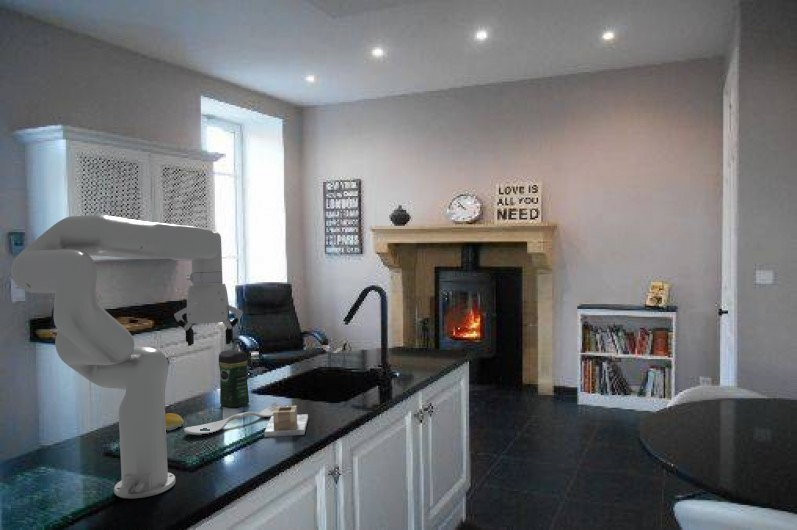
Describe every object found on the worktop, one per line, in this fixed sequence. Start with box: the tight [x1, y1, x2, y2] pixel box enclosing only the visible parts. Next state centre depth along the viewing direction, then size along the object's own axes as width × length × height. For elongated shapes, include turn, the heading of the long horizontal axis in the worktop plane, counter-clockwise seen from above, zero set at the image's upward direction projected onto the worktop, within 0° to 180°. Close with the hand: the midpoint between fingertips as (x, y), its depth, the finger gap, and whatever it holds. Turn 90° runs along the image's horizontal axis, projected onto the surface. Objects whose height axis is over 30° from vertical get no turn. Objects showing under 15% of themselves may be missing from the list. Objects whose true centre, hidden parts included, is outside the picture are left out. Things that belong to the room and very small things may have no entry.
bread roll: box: [165, 412, 185, 428], centre depth 176 cm, size 8×9×4 cm
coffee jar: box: [218, 349, 250, 408], centre depth 198 cm, size 10×8×19 cm
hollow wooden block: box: [273, 405, 298, 430], centre depth 168 cm, size 6×6×5 cm
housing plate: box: [264, 404, 309, 438], centre depth 172 cm, size 15×11×6 cm
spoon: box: [183, 402, 280, 436], centre depth 176 cm, size 9×32×4 cm, turn 133°
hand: (209, 344), depth 153 cm, fingers open, 9 cm apart
